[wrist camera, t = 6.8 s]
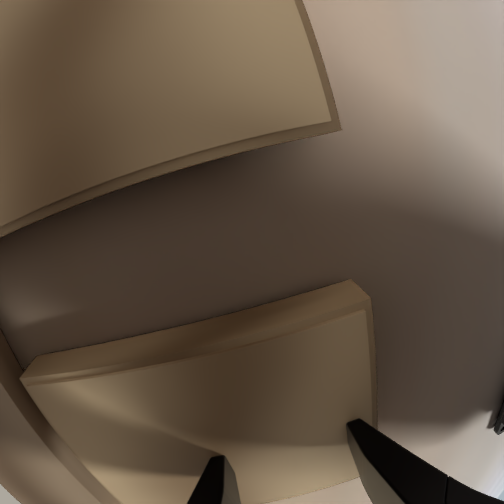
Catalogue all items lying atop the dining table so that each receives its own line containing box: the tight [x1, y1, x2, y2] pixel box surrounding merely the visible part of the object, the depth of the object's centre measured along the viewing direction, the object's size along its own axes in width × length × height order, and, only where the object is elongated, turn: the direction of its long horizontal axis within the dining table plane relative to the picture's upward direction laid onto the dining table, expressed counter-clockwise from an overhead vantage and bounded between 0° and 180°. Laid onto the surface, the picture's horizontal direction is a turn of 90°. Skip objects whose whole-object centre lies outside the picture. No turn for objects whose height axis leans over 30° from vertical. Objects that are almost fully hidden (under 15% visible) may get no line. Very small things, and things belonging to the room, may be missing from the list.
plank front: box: [0, 0, 342, 238], centre depth 5 cm, size 9×7×1 cm
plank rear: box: [19, 279, 378, 504], centre depth 8 cm, size 9×7×1 cm
